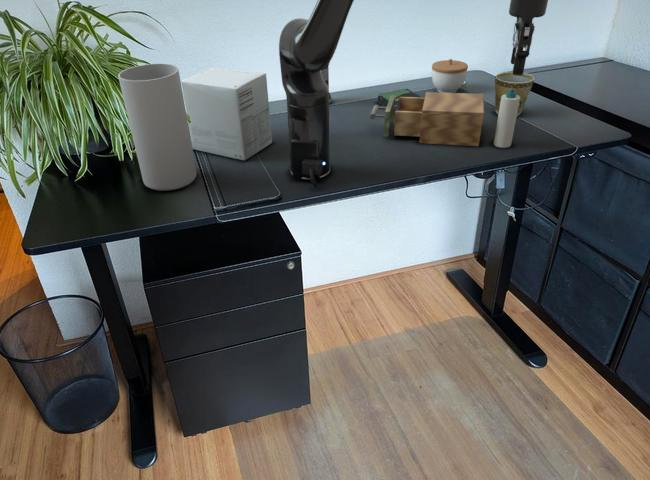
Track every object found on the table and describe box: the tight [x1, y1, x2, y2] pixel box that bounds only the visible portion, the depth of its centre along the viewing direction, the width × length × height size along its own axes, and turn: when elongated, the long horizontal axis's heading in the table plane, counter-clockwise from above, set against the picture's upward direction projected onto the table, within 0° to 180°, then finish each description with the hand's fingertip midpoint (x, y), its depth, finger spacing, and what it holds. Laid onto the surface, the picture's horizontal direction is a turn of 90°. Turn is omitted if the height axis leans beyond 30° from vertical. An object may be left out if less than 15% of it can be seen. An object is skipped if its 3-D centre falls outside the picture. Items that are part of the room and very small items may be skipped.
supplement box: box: [180, 67, 273, 161], centre depth 138 cm, size 17×13×18 cm
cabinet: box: [418, 91, 485, 147], centre depth 141 cm, size 15×14×9 cm
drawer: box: [369, 95, 425, 138], centre depth 144 cm, size 18×13×7 cm
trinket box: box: [431, 58, 469, 93], centre depth 169 cm, size 11×11×9 cm
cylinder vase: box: [117, 63, 197, 192], centre depth 122 cm, size 12×12×25 cm
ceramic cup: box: [494, 71, 535, 117], centre depth 151 cm, size 13×10×10 cm
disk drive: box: [377, 88, 423, 115], centre depth 160 cm, size 10×3×15 cm
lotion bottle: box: [493, 89, 520, 149], centre depth 132 cm, size 4×4×14 cm
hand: (516, 69), depth 126 cm, fingers open, 8 cm apart
